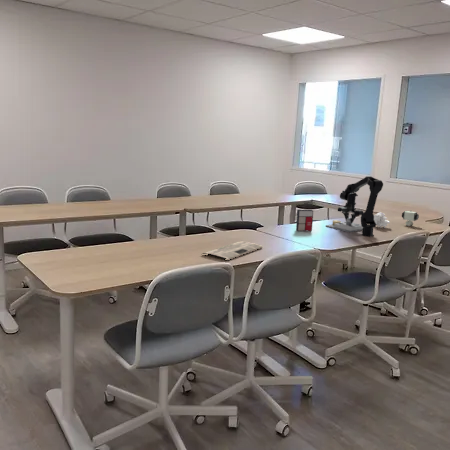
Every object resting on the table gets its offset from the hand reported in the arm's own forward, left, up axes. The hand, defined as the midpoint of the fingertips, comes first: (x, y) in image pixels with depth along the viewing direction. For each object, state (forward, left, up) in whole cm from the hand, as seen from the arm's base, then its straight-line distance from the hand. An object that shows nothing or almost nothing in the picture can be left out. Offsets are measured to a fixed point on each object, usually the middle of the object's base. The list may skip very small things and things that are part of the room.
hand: (349, 222), depth 343 cm
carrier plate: (+4, 0, -5) cm, 6 cm away
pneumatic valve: (-18, -55, -5) cm, 58 cm away
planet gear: (0, 0, -3) cm, 3 cm away
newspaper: (-1, +116, -6) cm, 116 cm away
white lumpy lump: (-10, -27, -5) cm, 29 cm away
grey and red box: (+14, +34, -5) cm, 37 cm away
